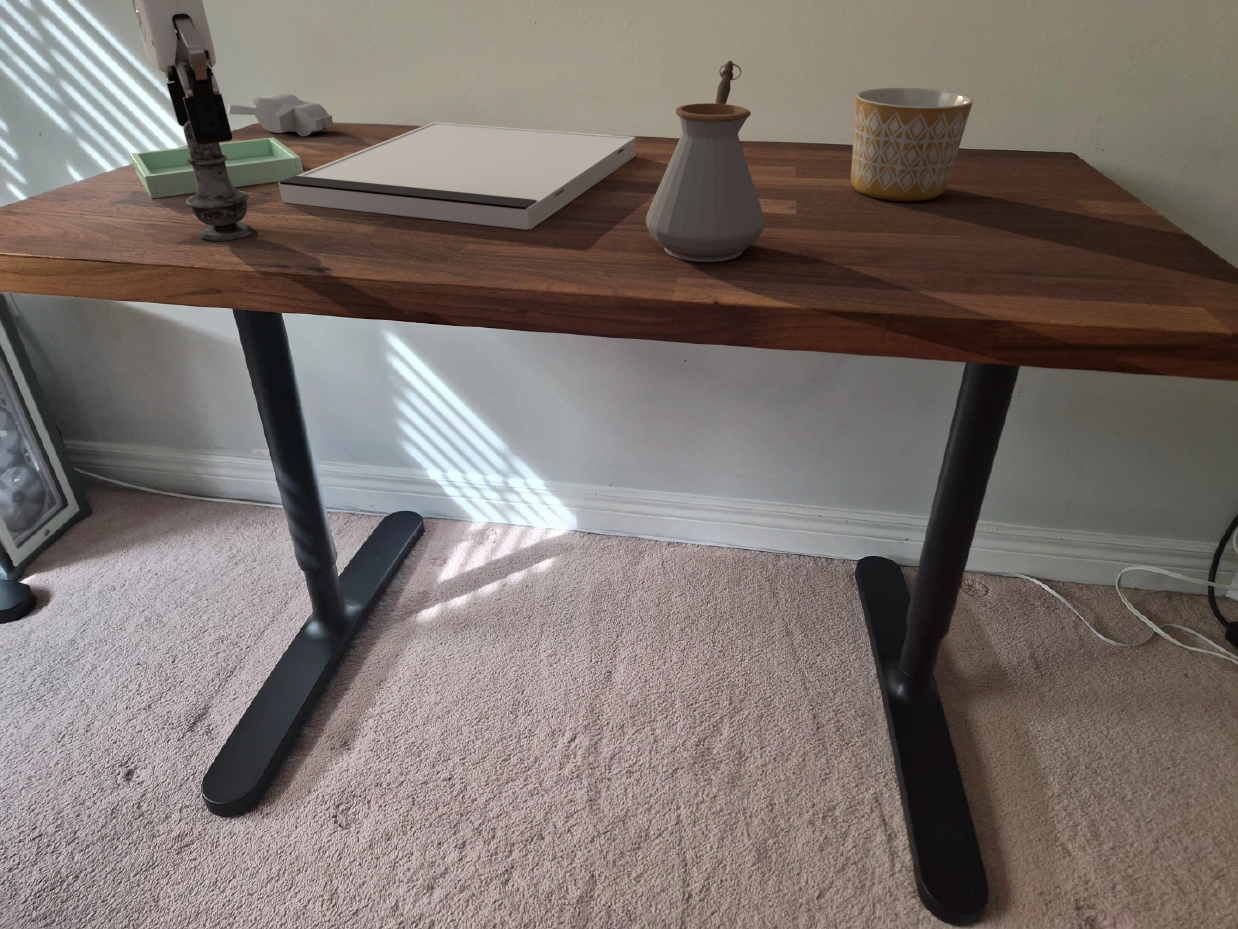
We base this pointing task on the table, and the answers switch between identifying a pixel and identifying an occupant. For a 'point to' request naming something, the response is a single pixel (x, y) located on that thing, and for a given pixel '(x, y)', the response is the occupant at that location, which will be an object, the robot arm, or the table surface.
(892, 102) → the planter
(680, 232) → the coffee pot
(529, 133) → the flat white box
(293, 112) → the grey blocky piece
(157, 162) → the serving tray
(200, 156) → the salt shaker
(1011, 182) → the table surface
